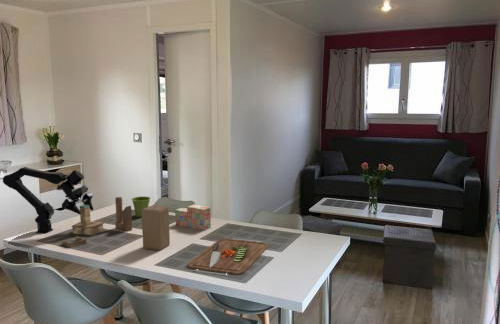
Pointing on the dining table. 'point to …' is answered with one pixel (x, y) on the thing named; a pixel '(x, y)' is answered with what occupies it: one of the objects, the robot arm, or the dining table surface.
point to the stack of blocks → (194, 217)
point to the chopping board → (228, 256)
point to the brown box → (88, 228)
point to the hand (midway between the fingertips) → (86, 211)
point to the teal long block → (85, 215)
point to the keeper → (78, 242)
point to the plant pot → (140, 204)
